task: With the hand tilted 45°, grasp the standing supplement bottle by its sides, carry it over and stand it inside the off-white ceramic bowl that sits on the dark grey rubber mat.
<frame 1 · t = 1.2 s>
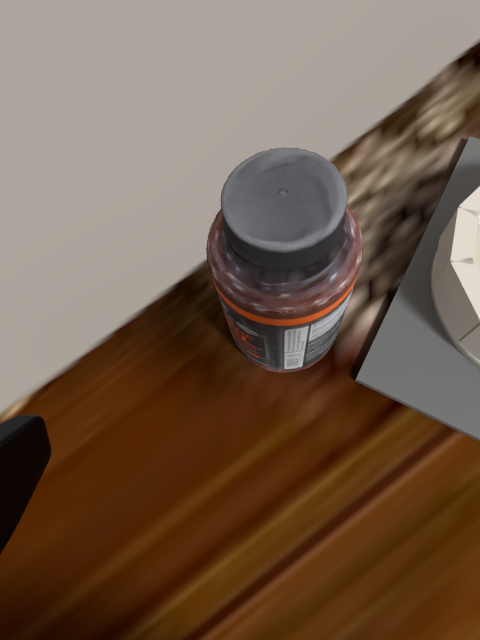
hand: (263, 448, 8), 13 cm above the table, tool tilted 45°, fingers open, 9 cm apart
supplement bottle: (283, 326, 23), on the table
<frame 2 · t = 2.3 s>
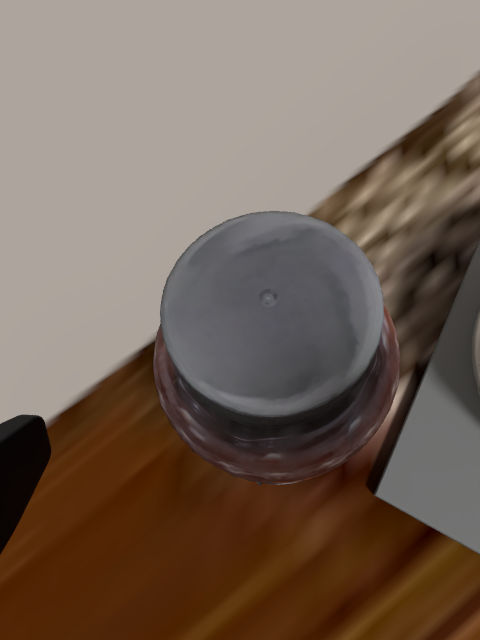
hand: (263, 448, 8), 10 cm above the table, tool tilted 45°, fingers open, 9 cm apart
supplement bottle: (278, 412, 18), on the table
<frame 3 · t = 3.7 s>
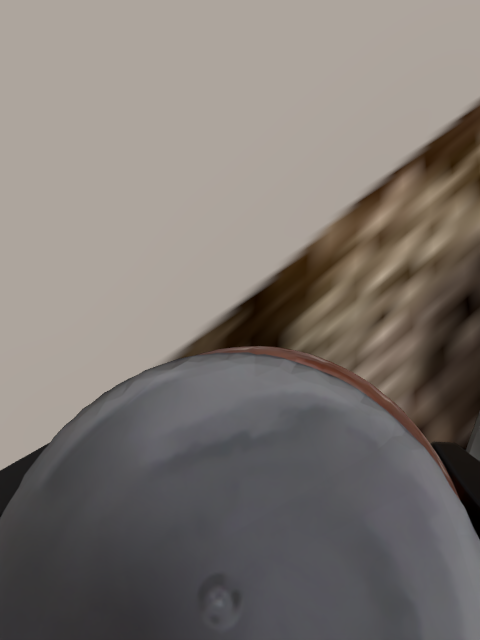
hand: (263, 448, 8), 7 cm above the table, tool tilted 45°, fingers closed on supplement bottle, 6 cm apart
supplement bottle: (270, 511, 14), on the table, touching gripper
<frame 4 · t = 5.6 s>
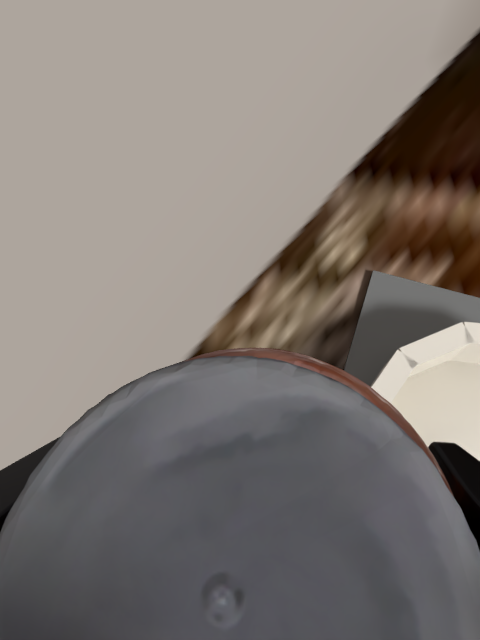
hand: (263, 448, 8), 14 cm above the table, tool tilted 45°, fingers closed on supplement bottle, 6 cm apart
supplement bottle: (266, 510, 14), point 7 cm above the table, touching gripper
bowl: (476, 470, 19), resting on mat
mat: (472, 470, 19), on the table
when the fingers open (9 cm above the table, at t = 7.5 s): supplement bottle drops 1 cm, resting on bowl.
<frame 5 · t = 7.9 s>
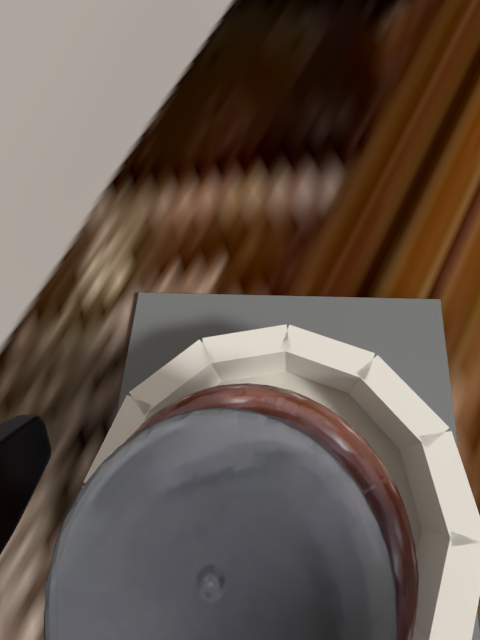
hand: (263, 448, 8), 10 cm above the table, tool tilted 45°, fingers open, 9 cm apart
supplement bottle: (268, 514, 15), point 1 cm above the table, touching bowl
bowl: (274, 506, 16), resting on mat
mat: (274, 506, 16), on the table
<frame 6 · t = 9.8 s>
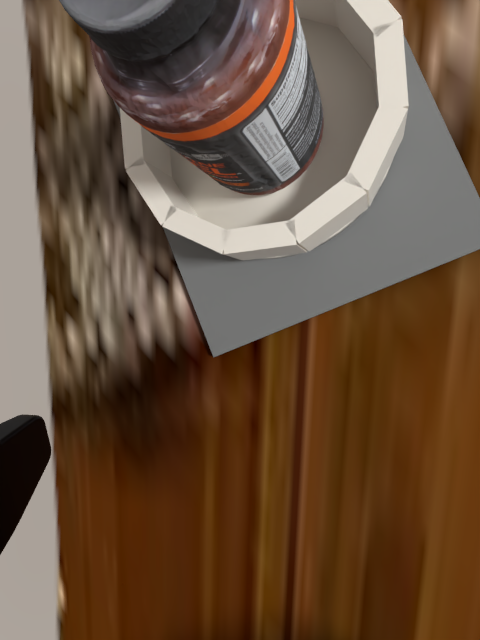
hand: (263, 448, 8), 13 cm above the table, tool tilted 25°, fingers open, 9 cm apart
supplement bottle: (264, 137, 19), point 1 cm above the table, touching bowl
bowl: (268, 135, 20), resting on mat
mat: (270, 139, 20), on the table
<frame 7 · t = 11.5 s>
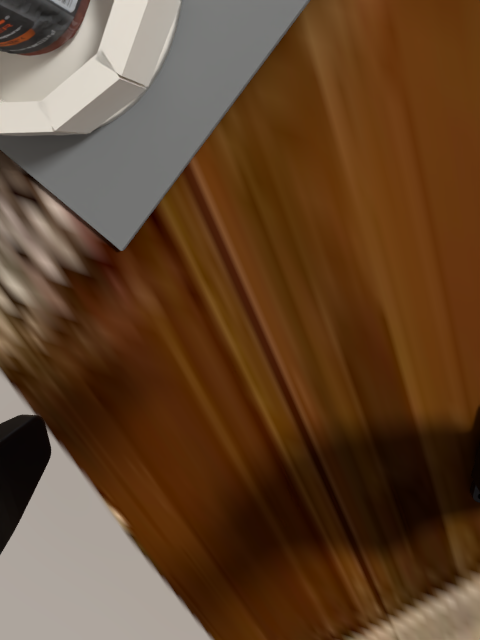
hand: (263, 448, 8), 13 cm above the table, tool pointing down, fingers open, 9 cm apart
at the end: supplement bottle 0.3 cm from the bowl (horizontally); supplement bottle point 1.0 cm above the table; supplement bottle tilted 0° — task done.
